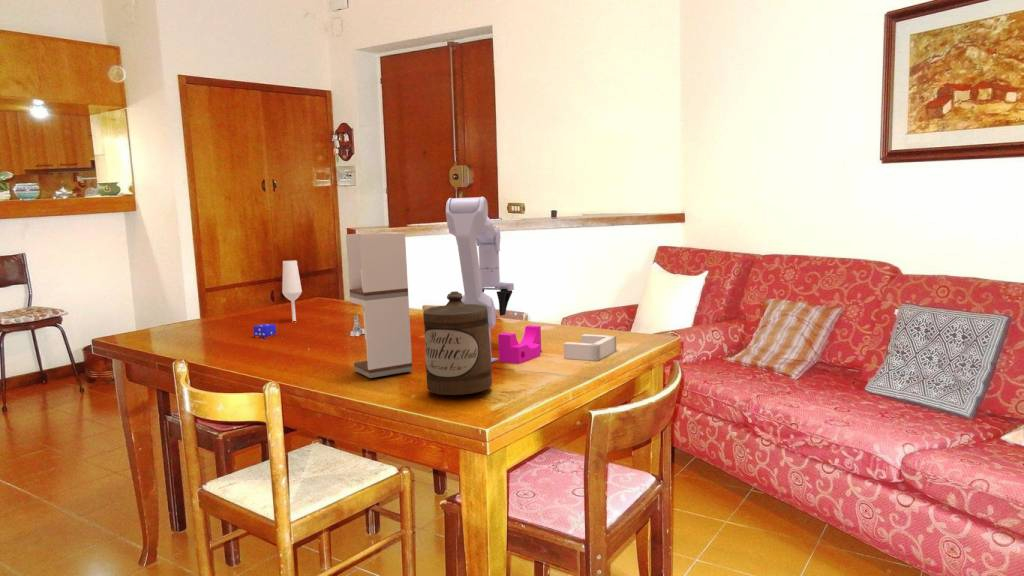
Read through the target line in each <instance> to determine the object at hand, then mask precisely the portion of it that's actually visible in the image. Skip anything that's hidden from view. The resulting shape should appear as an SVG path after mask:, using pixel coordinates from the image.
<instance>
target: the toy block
mask: <svg viewBox="0 0 1024 576" xmlns="http://www.w3.org/2000/svg"><path fill="white" fill-rule="evenodd" d="M541 327H542V326H541V325H534V324H533V325H532V324H530V325H529V324H528V325H526V326H524V333H523V337H522V339H521V341H520V342H519V341H518V339H517V333H513V332H501V333H498V335H497V336H498V339H497V342H498V362H501V363H509V364H518V365H520V364H523V363H525V362H528V361H531V360H534V359H536V358H539V357H540V356H541V353H542V328H541Z"/></svg>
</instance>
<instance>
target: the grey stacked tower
mask: <svg viewBox="0 0 1024 576" xmlns="http://www.w3.org/2000/svg"><path fill="white" fill-rule="evenodd" d="M345 239H346V240H345V242H346V256H347V257H346V258H347V273H348V274H347V275H348V289H349V301H350V303H351V304H356V305H359V306H363V312H362V313H363V326H364V328H363V329H364V330H365V335H364V338H365V339H364V340H365V342H366V343H365V344H366V345H365V346H366V357H367V358H366V360H362V361H356V362H354V363H353V364H354V365H353V366H354V367H353V368H354V372H357V373H359V374H361V375H363V376H364V377H367V378H369V379H372V378H378V377H384V376H390V375H396V374H402V373H408V372H412V371H413V358H412V357H413V355H412V341H411V340H412V337H411V321H410V304H409V302H410V301H409V299H410V298H409V285H408V284H409V283H408V281H409V280H408V264H407V263H408V262H407V248H406V243H407V242H406V232H393V231H391V232H389V231H388V232H386V231H385V232H384V231H383V232H371V233H370V232H368V233H351V234H350V233H349V234H347V233H346V234H345Z"/></svg>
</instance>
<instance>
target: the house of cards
mask: <svg viewBox="0 0 1024 576" xmlns="http://www.w3.org/2000/svg"><path fill="white" fill-rule="evenodd" d="M361 327H362V326H361V324H360V319H359V315H353V328H352V331H350V336H354V337H355V336H359V337H360V336H362V334H365V330H364V328H361Z"/></svg>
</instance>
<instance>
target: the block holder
mask: <svg viewBox="0 0 1024 576" xmlns="http://www.w3.org/2000/svg"><path fill="white" fill-rule="evenodd" d="M580 336H581V342H573V341H572V342H569V341H566V342H564V343H563V358H564V359H567V360H579V361H591V362H594V361H595V362H598V361H600V360H602V359H604V358H605V357H607V356H609V355H611V354H613V353H614V352H616V351H617V336H616V335H607V334H605V335H604V334H587V333H584V334H582V335H580Z"/></svg>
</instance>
